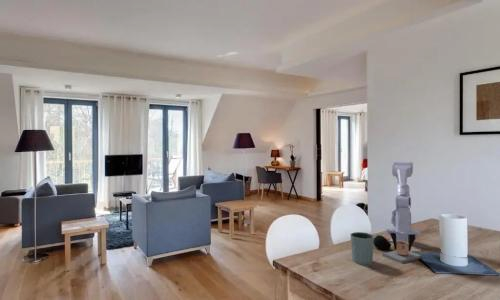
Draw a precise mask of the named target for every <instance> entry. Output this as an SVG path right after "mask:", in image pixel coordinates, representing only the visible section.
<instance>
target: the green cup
mask: <svg viewBox="0 0 500 300" xmlns="http://www.w3.org/2000/svg"><path fill="white" fill-rule="evenodd" d="M349 235H350V244H351V247H350V248H351V257H352V259H351V260H352V262H353V263H355V264H358V265H362V266H368V265H372V264H373V255H374V238H375V236H374V235H373V234H372V233H368V232H362V231H361V232H359V231H358V232H352V233H350V234H349Z"/></svg>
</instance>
